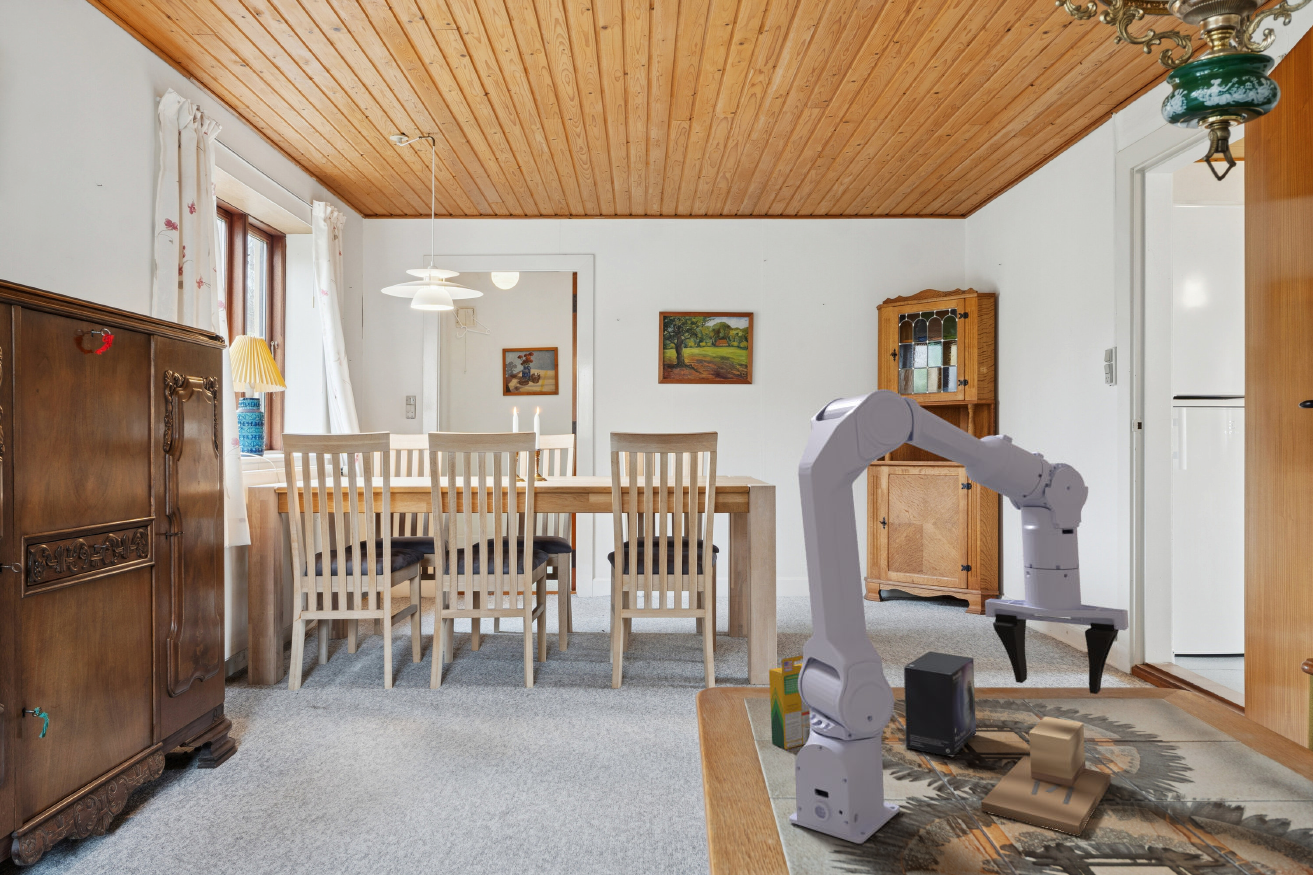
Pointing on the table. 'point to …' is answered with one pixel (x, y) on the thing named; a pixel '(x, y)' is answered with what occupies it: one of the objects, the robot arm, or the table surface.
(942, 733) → the small box
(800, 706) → the crayon box
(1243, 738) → the table surface
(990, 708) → the table surface
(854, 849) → the table surface
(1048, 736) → the block
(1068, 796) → the board
